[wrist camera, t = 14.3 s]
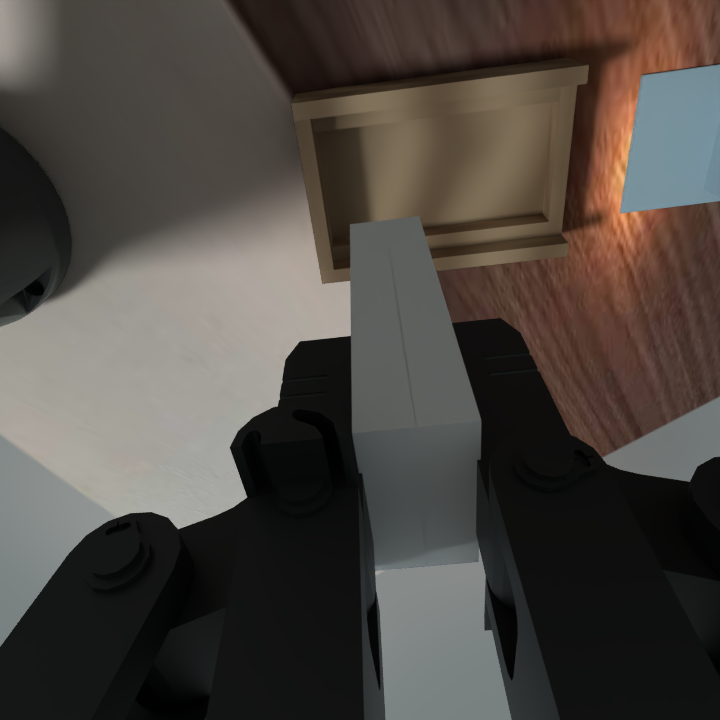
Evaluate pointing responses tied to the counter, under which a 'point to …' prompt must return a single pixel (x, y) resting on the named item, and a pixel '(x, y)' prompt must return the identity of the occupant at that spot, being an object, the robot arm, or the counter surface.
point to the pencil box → (443, 161)
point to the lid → (675, 141)
